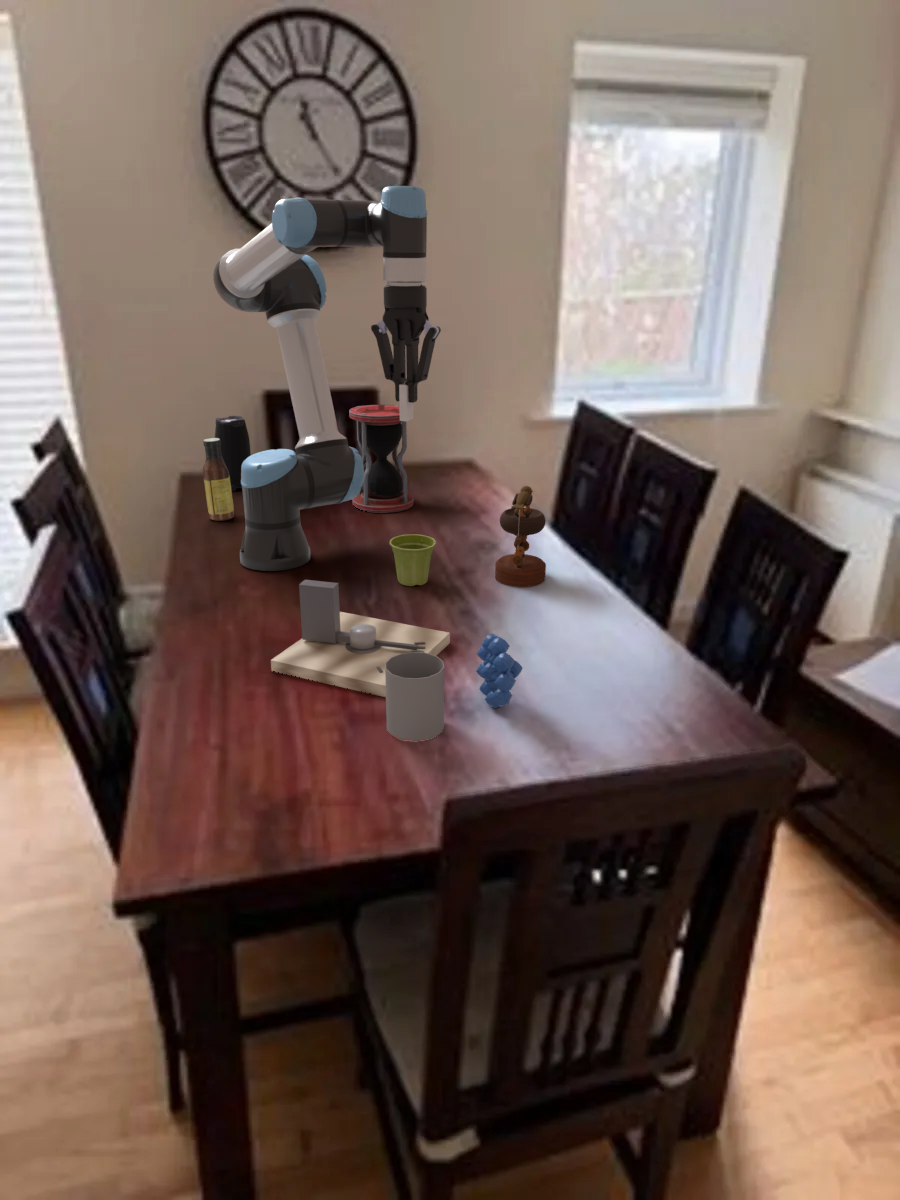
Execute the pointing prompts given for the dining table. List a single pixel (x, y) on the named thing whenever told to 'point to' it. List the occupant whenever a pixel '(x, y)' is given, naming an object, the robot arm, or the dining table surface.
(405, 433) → the hourglass
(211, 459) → the sauce bottle
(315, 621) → the lever dial gauge
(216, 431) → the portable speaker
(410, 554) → the plant pot
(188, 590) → the dining table surface
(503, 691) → the grapes
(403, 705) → the cup
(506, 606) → the dining table surface
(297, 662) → the dial plate
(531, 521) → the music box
